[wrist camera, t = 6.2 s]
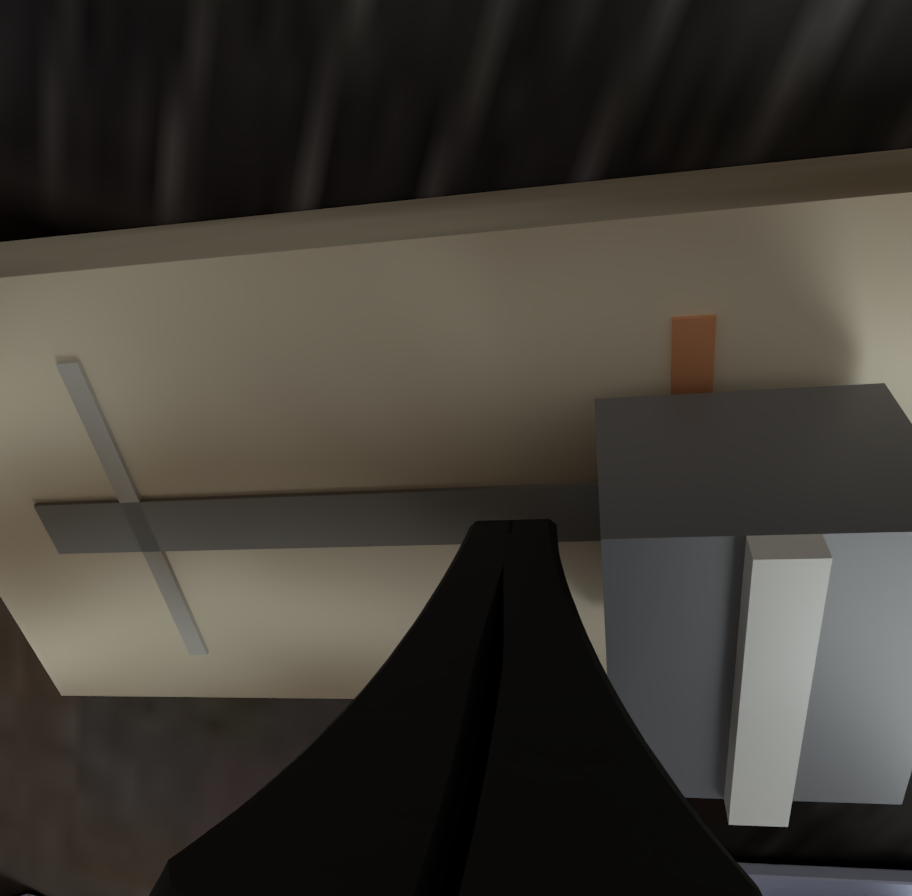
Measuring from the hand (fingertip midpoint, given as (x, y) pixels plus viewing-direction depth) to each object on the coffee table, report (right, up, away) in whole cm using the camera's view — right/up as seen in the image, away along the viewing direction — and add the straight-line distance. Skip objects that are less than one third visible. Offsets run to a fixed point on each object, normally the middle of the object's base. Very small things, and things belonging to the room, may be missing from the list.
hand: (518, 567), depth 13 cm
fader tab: (+3, +1, 0) cm, 3 cm away
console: (-1, +2, +3) cm, 4 cm away
